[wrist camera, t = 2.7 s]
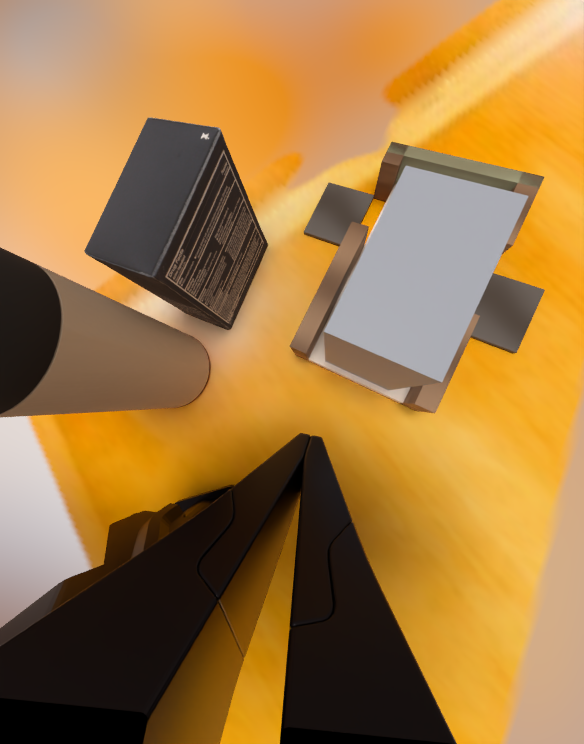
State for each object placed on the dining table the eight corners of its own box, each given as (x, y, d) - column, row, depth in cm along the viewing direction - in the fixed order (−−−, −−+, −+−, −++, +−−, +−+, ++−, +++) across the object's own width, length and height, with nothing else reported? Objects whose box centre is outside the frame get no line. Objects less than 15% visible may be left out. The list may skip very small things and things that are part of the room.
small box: (219, 228, 25) (143, 108, 15) (270, 243, 24) (226, 123, 13) (181, 312, 24) (74, 249, 14) (231, 332, 23) (154, 278, 13)
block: (388, 390, 19) (442, 382, 10) (325, 361, 20) (323, 331, 11) (436, 288, 19) (528, 195, 10) (371, 266, 20) (405, 165, 12)
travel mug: (225, 374, 23) (-141, 283, 5) (168, 423, 23) (-366, 504, 5) (184, 319, 24) (-206, 102, 6) (131, 366, 24) (-376, 282, 7)
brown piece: (474, 438, 18) (509, 447, 15) (252, 334, 23) (239, 323, 19) (568, 231, 19) (621, 194, 16) (337, 169, 23) (338, 129, 20)
